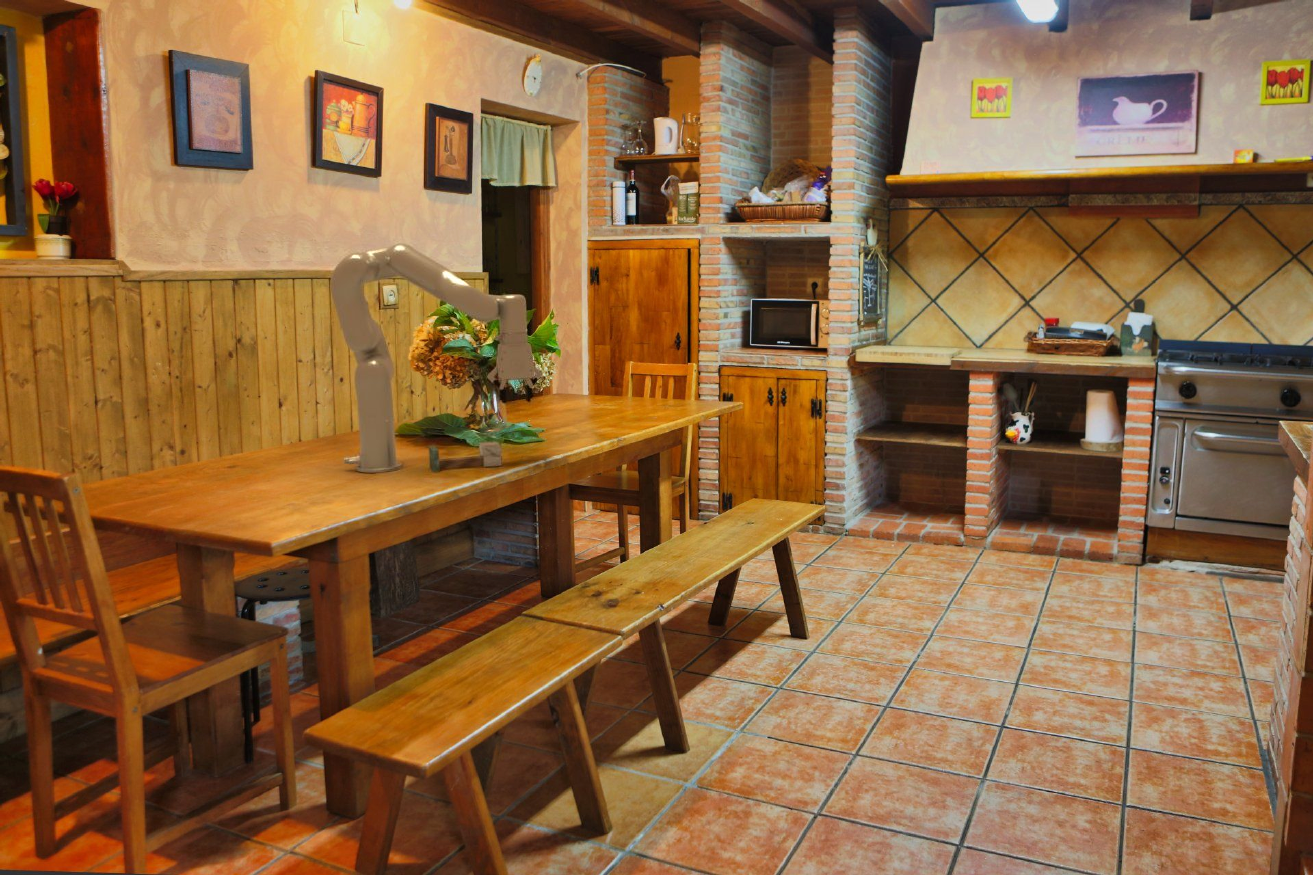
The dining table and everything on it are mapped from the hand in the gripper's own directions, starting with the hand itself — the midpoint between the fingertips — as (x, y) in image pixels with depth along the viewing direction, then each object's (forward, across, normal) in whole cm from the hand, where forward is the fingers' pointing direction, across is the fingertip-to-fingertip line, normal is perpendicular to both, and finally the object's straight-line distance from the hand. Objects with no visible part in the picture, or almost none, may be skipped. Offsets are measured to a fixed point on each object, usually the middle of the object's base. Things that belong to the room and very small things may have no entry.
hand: (516, 401), depth 295 cm
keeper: (+17, -8, 0) cm, 19 cm away
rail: (+18, -14, 0) cm, 23 cm away
